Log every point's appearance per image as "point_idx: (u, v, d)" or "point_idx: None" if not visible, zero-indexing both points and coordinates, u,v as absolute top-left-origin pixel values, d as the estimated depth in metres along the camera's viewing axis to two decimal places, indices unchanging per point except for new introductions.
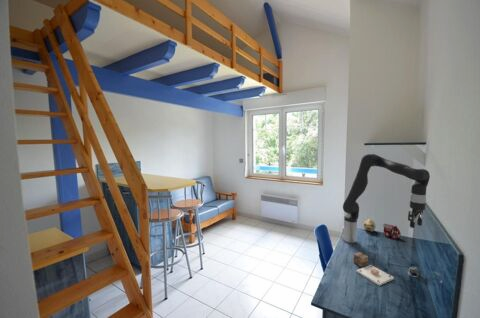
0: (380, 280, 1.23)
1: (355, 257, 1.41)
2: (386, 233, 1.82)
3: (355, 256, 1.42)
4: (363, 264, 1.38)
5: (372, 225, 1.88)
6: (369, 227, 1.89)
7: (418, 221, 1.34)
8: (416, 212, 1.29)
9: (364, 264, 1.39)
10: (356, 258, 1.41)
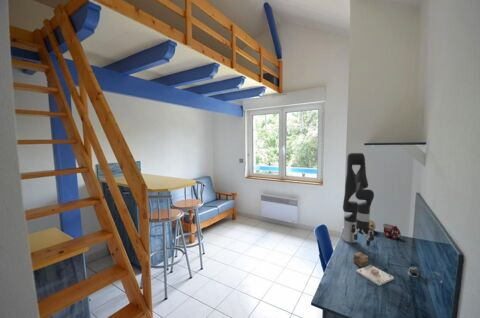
0: (380, 280, 1.23)
1: (355, 257, 1.41)
2: (386, 233, 1.82)
3: (355, 256, 1.42)
4: (363, 264, 1.38)
5: (372, 225, 1.88)
6: (369, 227, 1.89)
7: (355, 237, 1.44)
8: None
9: (364, 264, 1.39)
10: (356, 258, 1.41)
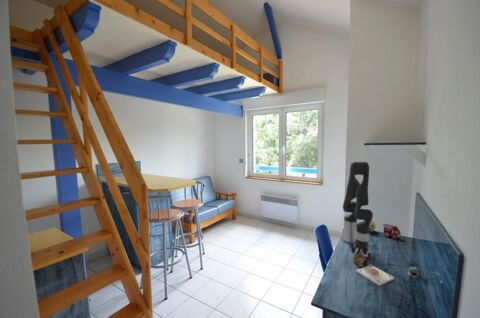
0: (380, 280, 1.23)
1: (355, 257, 1.41)
2: (386, 233, 1.82)
3: (355, 256, 1.42)
4: (363, 264, 1.38)
5: (372, 225, 1.88)
6: (369, 227, 1.89)
7: None
8: None
9: None
10: (356, 258, 1.41)
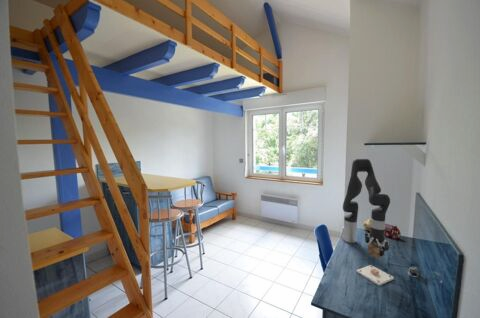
0: (380, 280, 1.23)
1: (370, 247, 1.28)
2: (386, 233, 1.82)
3: (370, 246, 1.28)
4: (379, 255, 1.25)
5: None
6: (369, 227, 1.89)
7: None
8: None
9: None
10: (371, 248, 1.27)
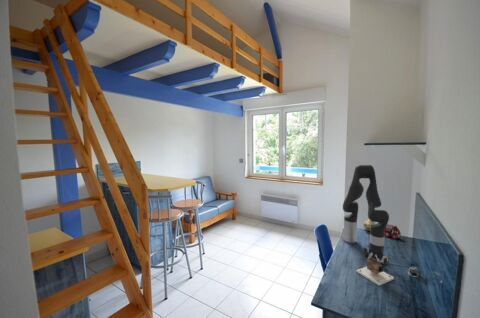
0: (380, 280, 1.23)
1: (369, 263, 1.29)
2: (386, 233, 1.82)
3: (369, 262, 1.29)
4: (378, 271, 1.25)
5: None
6: (369, 227, 1.89)
7: None
8: None
9: None
10: (370, 264, 1.28)
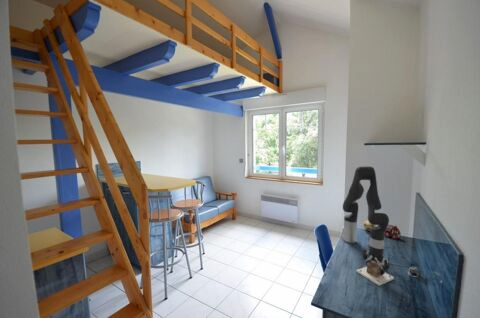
0: (380, 280, 1.23)
1: (369, 266, 1.29)
2: (386, 233, 1.82)
3: (369, 265, 1.29)
4: (378, 275, 1.26)
5: (372, 225, 1.88)
6: (369, 227, 1.89)
7: None
8: None
9: (379, 274, 1.26)
10: (370, 267, 1.28)
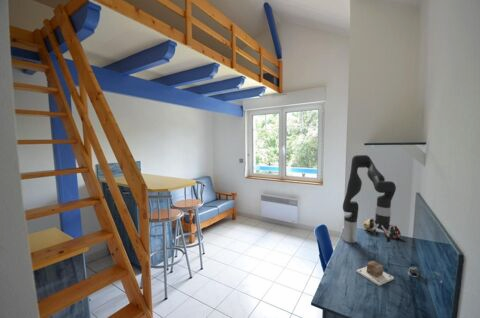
0: (380, 280, 1.23)
1: (369, 266, 1.29)
2: None
3: (369, 265, 1.29)
4: (378, 275, 1.26)
5: None
6: None
7: (374, 232, 1.33)
8: None
9: (379, 274, 1.26)
10: (370, 267, 1.28)
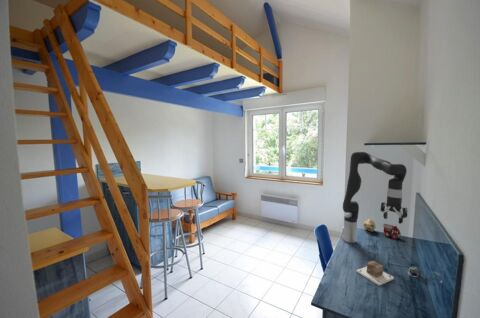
0: (380, 280, 1.23)
1: (369, 266, 1.29)
2: (386, 233, 1.82)
3: (369, 265, 1.29)
4: (378, 275, 1.26)
5: (372, 225, 1.88)
6: (369, 227, 1.89)
7: (385, 215, 1.36)
8: None
9: (379, 274, 1.26)
10: (370, 267, 1.28)
